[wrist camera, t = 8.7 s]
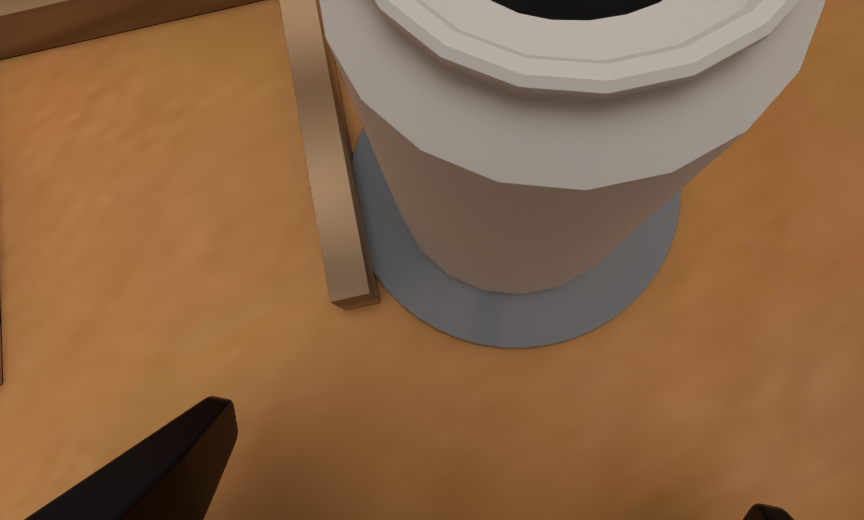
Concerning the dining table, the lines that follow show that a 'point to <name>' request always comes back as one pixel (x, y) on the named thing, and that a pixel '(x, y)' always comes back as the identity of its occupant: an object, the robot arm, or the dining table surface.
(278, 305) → the dining table surface
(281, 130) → the dining table surface
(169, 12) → the wooden u-shaped rail
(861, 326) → the dining table surface
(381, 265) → the grey plate
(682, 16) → the can
